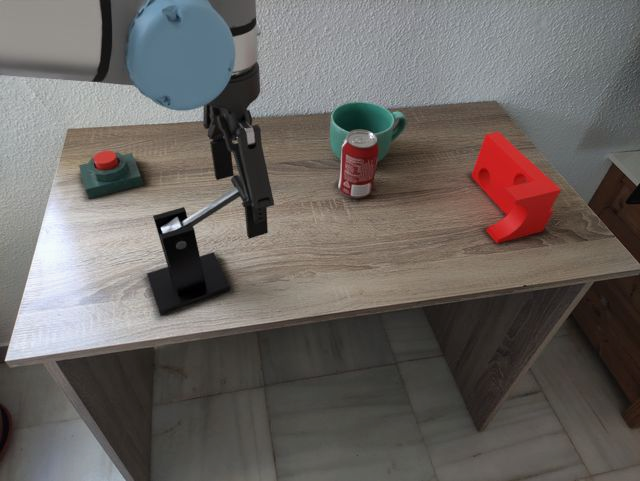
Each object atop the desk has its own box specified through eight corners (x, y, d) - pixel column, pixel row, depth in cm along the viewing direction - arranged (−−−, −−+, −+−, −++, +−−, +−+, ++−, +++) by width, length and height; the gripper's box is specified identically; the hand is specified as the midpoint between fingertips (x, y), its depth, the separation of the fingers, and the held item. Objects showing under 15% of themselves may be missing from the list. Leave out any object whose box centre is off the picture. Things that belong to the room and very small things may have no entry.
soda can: (373, 201, 90) (381, 150, 81) (338, 200, 90) (343, 148, 81) (371, 179, 95) (379, 128, 86) (337, 177, 95) (342, 126, 86)
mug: (339, 178, 94) (343, 139, 88) (320, 143, 103) (323, 104, 96) (413, 166, 98) (422, 127, 92) (390, 133, 107) (397, 95, 100)
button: (98, 173, 87) (95, 165, 85) (94, 161, 89) (91, 153, 88) (120, 167, 88) (118, 160, 87) (116, 156, 91) (113, 148, 89)
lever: (243, 181, 69) (236, 171, 67) (256, 202, 66) (248, 191, 64) (167, 229, 68) (157, 220, 66) (176, 253, 65) (166, 244, 63)
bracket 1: (214, 256, 79) (203, 194, 69) (230, 291, 74) (221, 229, 64) (148, 278, 75) (126, 215, 65) (160, 315, 70) (138, 254, 60)
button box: (88, 198, 87) (81, 181, 84) (82, 174, 92) (75, 157, 89) (143, 184, 91) (138, 168, 88) (134, 161, 95) (129, 145, 92)
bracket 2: (566, 188, 79) (516, 200, 76) (542, 231, 87) (496, 243, 84) (502, 130, 91) (457, 139, 88) (486, 173, 98) (444, 182, 95)
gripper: (303, 109, 46) (300, 253, 62) (221, 16, 61) (235, 150, 77) (230, 126, 44) (246, 272, 59) (163, 24, 59) (189, 161, 74)
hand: (240, 203), depth 68 cm, fingers open, 13 cm apart
